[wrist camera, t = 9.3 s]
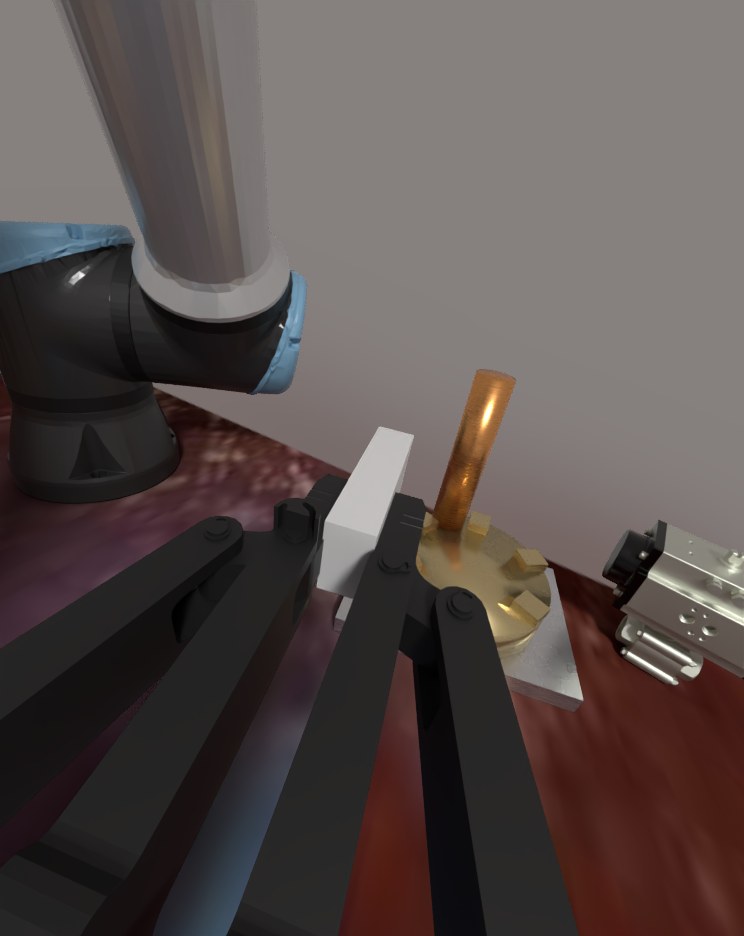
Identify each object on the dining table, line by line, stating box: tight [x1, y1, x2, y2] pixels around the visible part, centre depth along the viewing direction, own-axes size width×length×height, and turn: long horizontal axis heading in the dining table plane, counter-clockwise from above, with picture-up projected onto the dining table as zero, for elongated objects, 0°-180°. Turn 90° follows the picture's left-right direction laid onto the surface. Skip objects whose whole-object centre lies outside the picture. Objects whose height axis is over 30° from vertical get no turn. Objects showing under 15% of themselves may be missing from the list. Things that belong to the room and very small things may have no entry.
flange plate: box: [333, 568, 583, 712], centre depth 33 cm, size 18×13×2 cm
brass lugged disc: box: [416, 369, 551, 660], centre depth 28 cm, size 14×13×17 cm
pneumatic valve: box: [602, 520, 744, 686], centre depth 28 cm, size 6×12×12 cm, turn 51°
